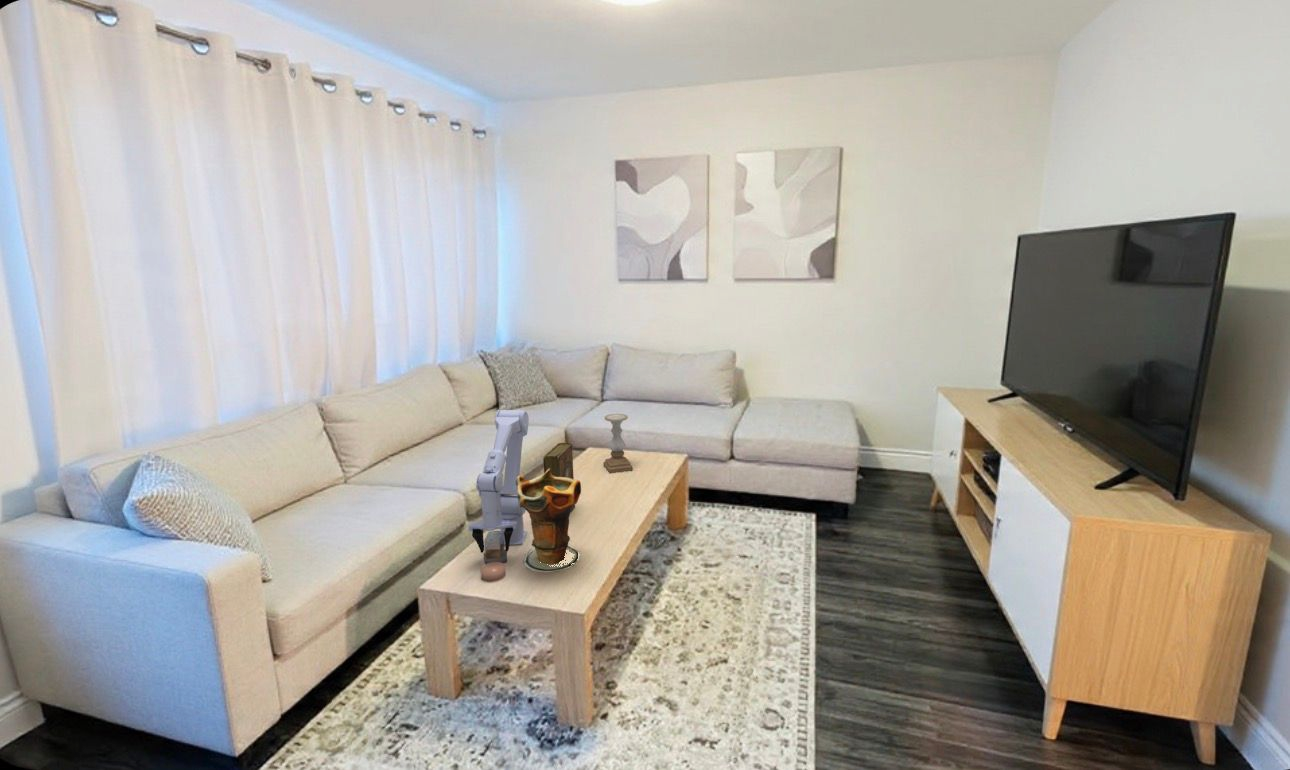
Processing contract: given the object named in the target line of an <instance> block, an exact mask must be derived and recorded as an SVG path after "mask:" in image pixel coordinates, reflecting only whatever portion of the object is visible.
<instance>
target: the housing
mask: <svg viewBox="0 0 1290 770" xmlns="http://www.w3.org/2000/svg"><path fill="white" fill-rule="evenodd" d="M483 540H484V553H485V555H486V559H493V558H501V556H502V553H503V551H504V549H505V545H504V537H503V531H501V530H494V531H487V535H486V536H485V538H484V539H483Z"/></svg>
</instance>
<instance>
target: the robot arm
mask: <svg viewBox="0 0 1290 770" xmlns="http://www.w3.org/2000/svg"><path fill="white" fill-rule="evenodd" d="M529 419H530V418H529V415H528V412H527V411H526V410H525V409H520V410H519V409H518V410H517V409H516V410H515V409H498V410H497V411H496V412H495V415H494V424H495V428H496V434H495V435H496V436H495V440H494V444H493V449H492V450H491V451H489V452H488V454H487V457H486V460H485V464H484V466H483V470H482V472H481V473H479V474H478V475H477V477H476V484H475V486H476V490H477V491H478V496H479V498H480V499H481V511H482V512H481V514H482V521H475V522H470V523H469V524H468V527H467V528H468V532H472V534H471V536H472V538H473V539H474V540H475V542H476V544H477V547H478V548H479V551H480V554H481V553H483V554H484V553H485V543H484V540H485V539H484V531H487V532H489V531H496V530H500V531H503V537H504V549H505V550H506V552H507V553H508V552H509V549H510V546H515V545H517V546H518V545H523V544H524V542H525V539H526V536H527V530H524V528H525V527H524V518H523V517H524V516H523V515H524V514H525V513H526V512H527V511H526V510H525V508H523V507H520V506H519V502H518V494H517V487H516V483H515V482H516V478H517V476H521V475H520V474H521V463H522V462H521V461H522V450H523V449H522V448H523V441H524V440H523V439H524V437H525V436H527V435H528V431H529V421H530V420H529ZM505 453H506V454H505ZM503 470H504V474H503Z"/></svg>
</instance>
